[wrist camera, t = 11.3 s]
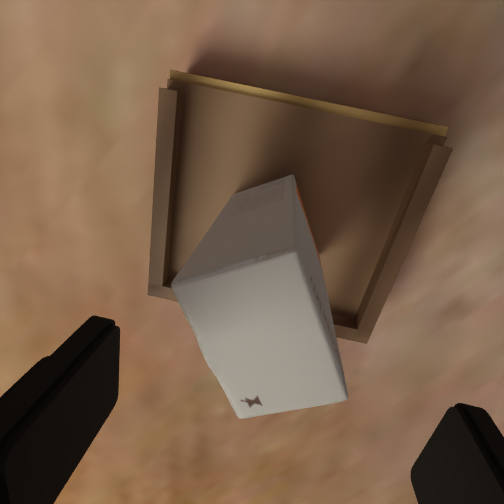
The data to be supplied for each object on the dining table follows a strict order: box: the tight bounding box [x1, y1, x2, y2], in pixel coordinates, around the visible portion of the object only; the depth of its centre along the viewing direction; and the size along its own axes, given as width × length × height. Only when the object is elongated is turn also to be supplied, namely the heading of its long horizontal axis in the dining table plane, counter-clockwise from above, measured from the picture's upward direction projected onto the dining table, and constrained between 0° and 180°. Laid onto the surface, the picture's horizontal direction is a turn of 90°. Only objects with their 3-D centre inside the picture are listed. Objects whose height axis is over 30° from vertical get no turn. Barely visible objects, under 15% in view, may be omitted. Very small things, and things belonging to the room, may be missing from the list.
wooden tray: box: [148, 70, 452, 344], centre depth 22 cm, size 16×14×4 cm
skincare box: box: [171, 175, 348, 419], centre depth 15 cm, size 6×4×12 cm
